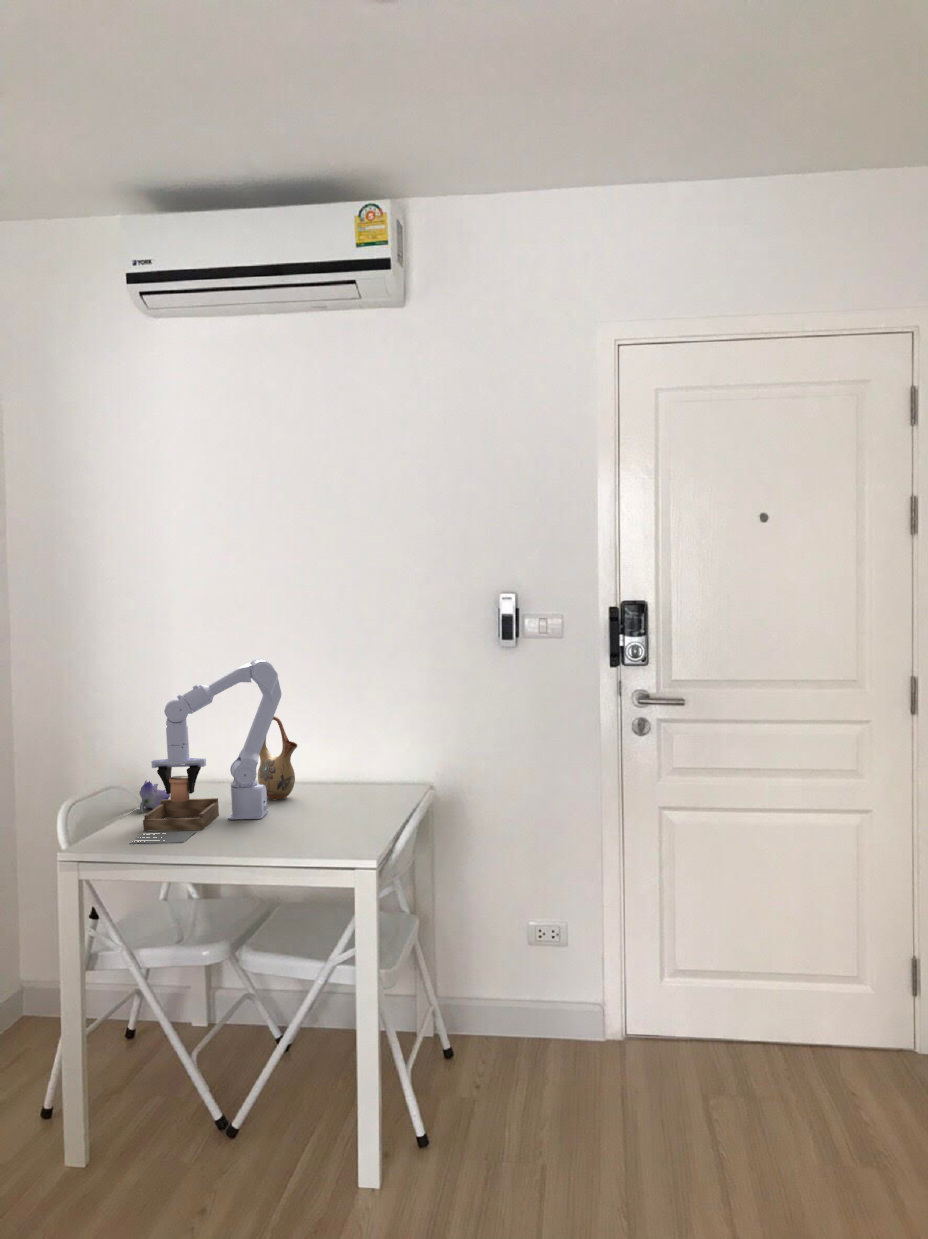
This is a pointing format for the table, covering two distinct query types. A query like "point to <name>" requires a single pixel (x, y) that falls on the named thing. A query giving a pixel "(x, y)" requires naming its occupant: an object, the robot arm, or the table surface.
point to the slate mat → (165, 837)
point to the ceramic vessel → (277, 768)
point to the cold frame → (182, 815)
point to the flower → (151, 796)
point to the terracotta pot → (179, 788)
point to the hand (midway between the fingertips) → (180, 793)
